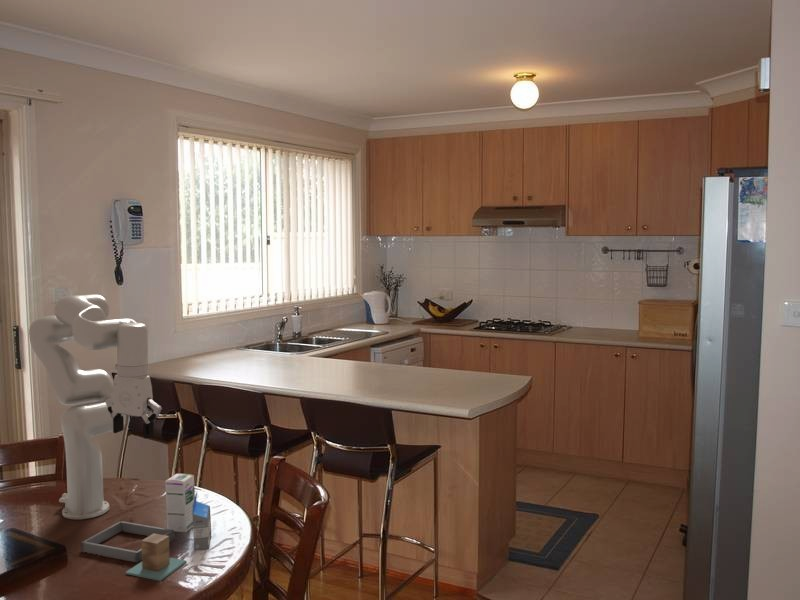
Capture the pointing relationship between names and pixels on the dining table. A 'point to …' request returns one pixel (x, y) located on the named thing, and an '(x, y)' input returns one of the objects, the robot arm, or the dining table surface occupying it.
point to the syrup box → (180, 502)
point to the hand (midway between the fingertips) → (133, 434)
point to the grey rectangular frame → (135, 556)
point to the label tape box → (201, 525)
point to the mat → (156, 575)
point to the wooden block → (155, 552)
